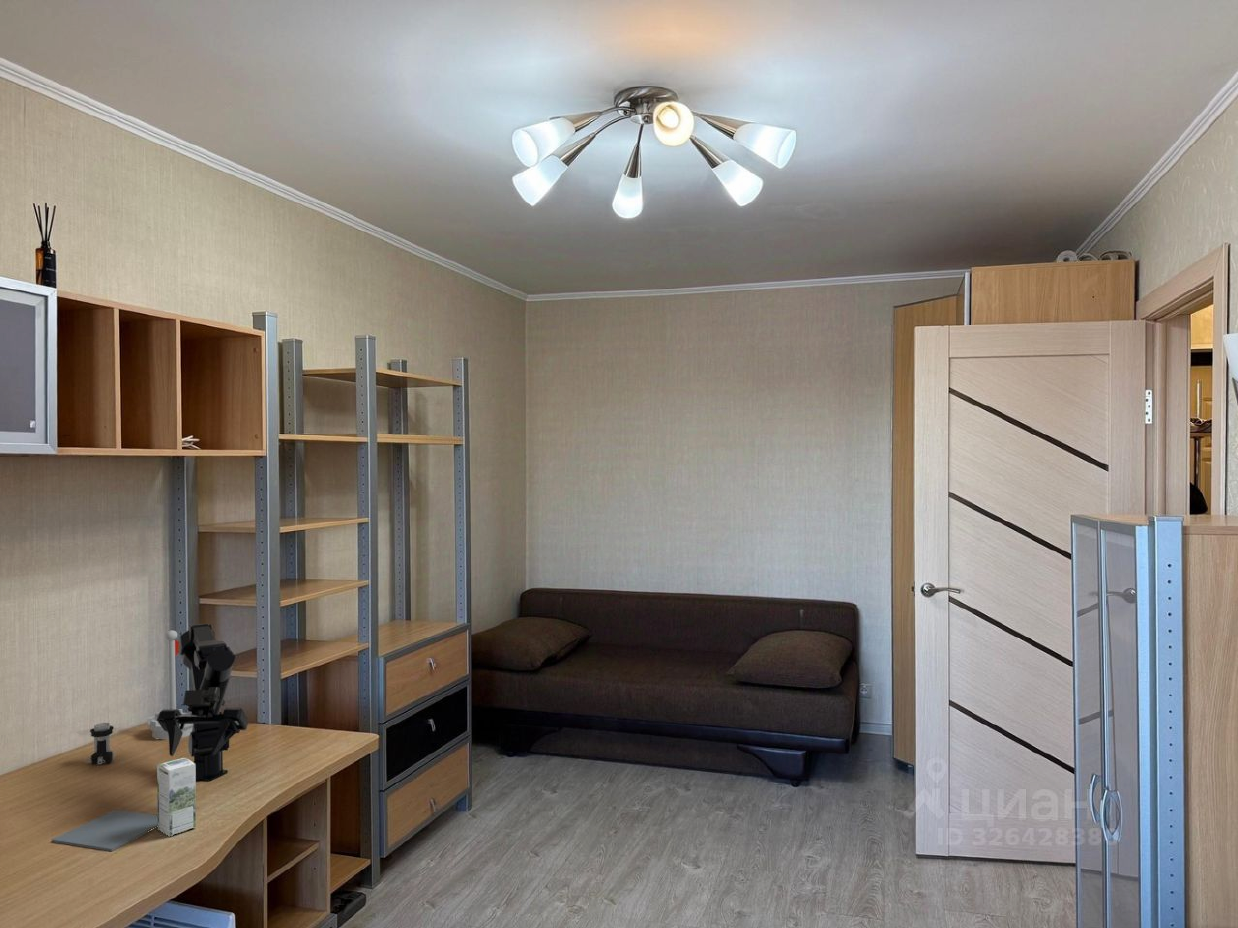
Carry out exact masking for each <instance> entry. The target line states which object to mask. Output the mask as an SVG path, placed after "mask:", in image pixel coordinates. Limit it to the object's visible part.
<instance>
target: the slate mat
mask: <svg viewBox="0 0 1238 928" xmlns="http://www.w3.org/2000/svg"><path fill="white" fill-rule="evenodd" d="M157 826H158V814H151V813H150V814H149V813H142V812H136V811H129V810H122V809H114V810H112V811H110V812H108V813H106V814H103V815H102V816H100V817H97V818H95V819H92V820H91V821H89V822H86V823H84V824H82V825H80V826H78V827H75V828H73V829H72V830H69V831H66V832H65V833H63V834H60V835H59V836H56V837H54V838H52V839H51V843H57V844H64V845H68V846H76V847H82V848H88V849H89V848H90V849H94V848H95V849H96V850H102V851H108V852H113V851H116V850H117V849H119V848H121V847H123V846H125V845H127V844H129V843H131V842H133V841H134V839H135V840H136V838H137V839H139V838H140V837H142V836H144V835H146V834H148V833H149V832H148V831H150V830H151V829H153V828H155V827H157ZM147 832H148V833H147ZM150 832H151V831H150ZM145 833H146V834H145ZM138 837H139V838H138ZM132 840H133V841H132ZM130 841H131V842H130ZM128 842H129V843H128ZM126 843H127V844H126ZM124 844H125V845H124ZM122 845H123V846H122ZM120 846H121V847H120ZM118 847H119V848H118ZM95 849H94V850H95Z"/></svg>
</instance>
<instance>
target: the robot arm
mask: <svg viewBox="0 0 1238 928" xmlns="http://www.w3.org/2000/svg"><path fill="white" fill-rule="evenodd" d="M178 641H179V653H178V654H179V656H181V658H182V664H183V665H184V666H185V667H186V668H188V670H190V675H191V676H190V677H191V682H192V688H193V690H191V689H190V690H185V691H184V697H183V701H182V702H183V703H182V705H183V707H184V706H186V707H187V712H188V711H189V712H192V714H191V715H182V714H181V713H180V711H179V710H178V709H179V708H176V709H170V708H169V709H162V710H161V711H160V713H159V712H158V713H159V714H158V717H157V721H158V723H159V724H160V725H161V727H162V728H163V729H164V731H167V732H168V735H169V740H168V746H169V747H168V750H169V755H170V757H173V756H174V755H175V754H176V752H177V748H178V746H179V744H180V741H181V739H182V738H181V736H182V734H183V732H182V731H181V730H182V729H183V728H184V725H185V724H193V728H192V732H190V735H189V738H188V743H187V745H188V753H189V755H190V757H192V758H193V761H192V762H193V763H195V766H196V767H195V769H196V775H195V776H196V780H197V781H205V780H206V781H207V782H211V781H213V780H215V779H217V778H219V777H222V776H224V775H225V774H227V773H228V772H229V770H227V769H223V768H224V766H223V765H224V763H223V759H224V758H223V751H225V752H226V751H228V750H229V748H230V739H232V737H234V735H236V734H239V733H240V732H241V731H245V730H247V727H248V724H249V718H248V716H247V714H246V713H245V712H244V710H243V709H242V707H232V708H231V707H230V708H229V707H226V708H225V709H223V712H221V709H222V707H224V706H225V703H226V701H225V700H224V699H225V696H226V692H227V689H228V685H229V683H230V680H231V674H232V670H233V666H234V664H235V660H236V655H235V653H234V652H233V651H232V650H231V647H230V646H227V643H226V642H224V641H223V640H217V639H216V635H215V631H214V630H213V629H212V624H211V623H198V624H192V625H190V626H189V627H188V630H186V631H185V632H183V634H181V635H180V636H179V640H178Z"/></svg>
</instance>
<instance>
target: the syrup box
mask: <svg viewBox="0 0 1238 928" xmlns="http://www.w3.org/2000/svg"><path fill="white" fill-rule="evenodd" d="M193 762H194V761H192V760H190V759H188V758H186V757H181V758H177V759H173V760H170V761H169V760H168V761H166V762H163V763H158V764H157V765H156V776H157V777H156V782H157V783H156V784H157V785H156V787H157V794H156V795H157V815H158V828H157V830H158V831H159V830H160V831H161V832H160V831H159V832H160V833H162V832H163V833H162V834H164V833H165V834H166V835H165V834H164V835H165V836H167V835H168V837H169V838H171V837H173V835H174V834H177V833H179V832H182V831H184V830H187V829H190V828H193V827H196V828H197V826H196V825H197V824H196V823H197V822H196V821H197V818H196V817H197V816H196V815H197V811H196V810H197V805H196V804H197V803H196V801H197V800H196V798H197V797H196V792H197V790H196V780H197V779H196V776H195V775H196V769H195V767H196V766H195V763H193ZM177 835H178V834H177ZM170 836H171V837H170ZM174 836H175V835H174Z"/></svg>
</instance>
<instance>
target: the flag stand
mask: <svg viewBox="0 0 1238 928" xmlns="http://www.w3.org/2000/svg"><path fill="white" fill-rule="evenodd" d="M165 635H166V636H165V637H166V639H167V640H168V655H169V656H168V658H169V664H168V665H169V707H170V708H169V710H170V709H178V710H179V711H180V713H181V714H182V715H191V714H192V712H189V711H188V710H187V712H183V708H177V687H176V686H177V684H176V681H177V679H176V656H177V655H178V654H179V640H176V639H177V638H178V632H177V631H176V630H172V629H171V630H169V631H167V633H166V634H165ZM160 712H161V711H160ZM160 712H156V713H154V715H155V716H154V715H151V716H150V715H149V716H148V718H147V727H148V729H149V730H150V731H151V732H152V733H151V735H152V738H153V737H154V738H158V739H169V735H168V732H167V731H164V729H163V728H162V727H161V725H160V724H159V723H158V721H157V717H158V714H159V713H160ZM192 728H193V724H185V725H184V728H183V729H182V730H181V731H182V732H183V734H182V736H181V737H182V738H185V737H188V736H189V737H190V732H192ZM154 738H153V739H154Z"/></svg>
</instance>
